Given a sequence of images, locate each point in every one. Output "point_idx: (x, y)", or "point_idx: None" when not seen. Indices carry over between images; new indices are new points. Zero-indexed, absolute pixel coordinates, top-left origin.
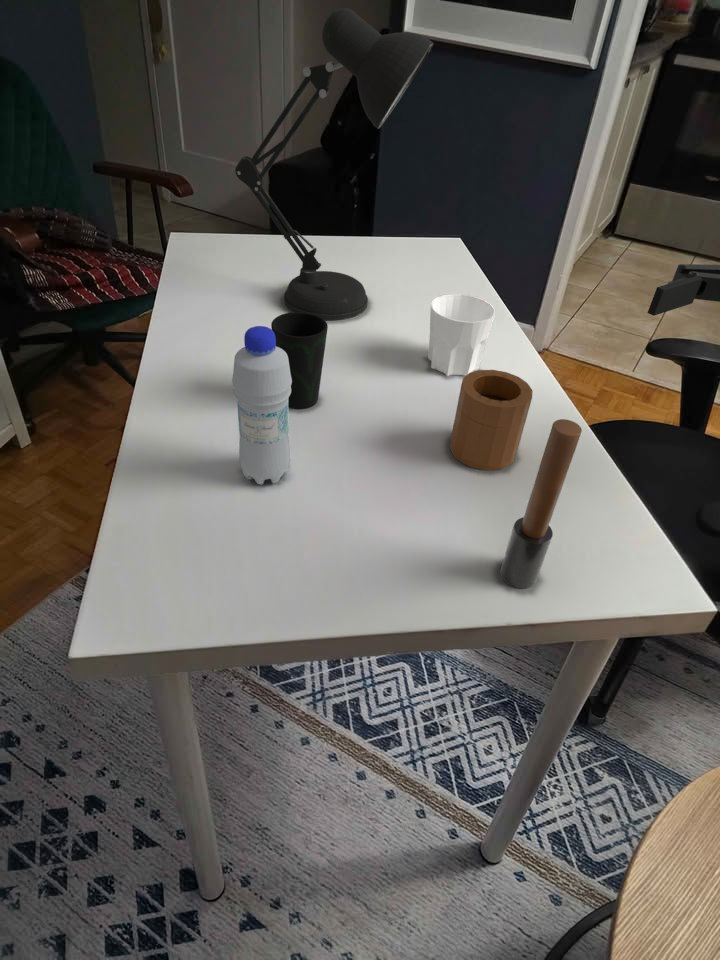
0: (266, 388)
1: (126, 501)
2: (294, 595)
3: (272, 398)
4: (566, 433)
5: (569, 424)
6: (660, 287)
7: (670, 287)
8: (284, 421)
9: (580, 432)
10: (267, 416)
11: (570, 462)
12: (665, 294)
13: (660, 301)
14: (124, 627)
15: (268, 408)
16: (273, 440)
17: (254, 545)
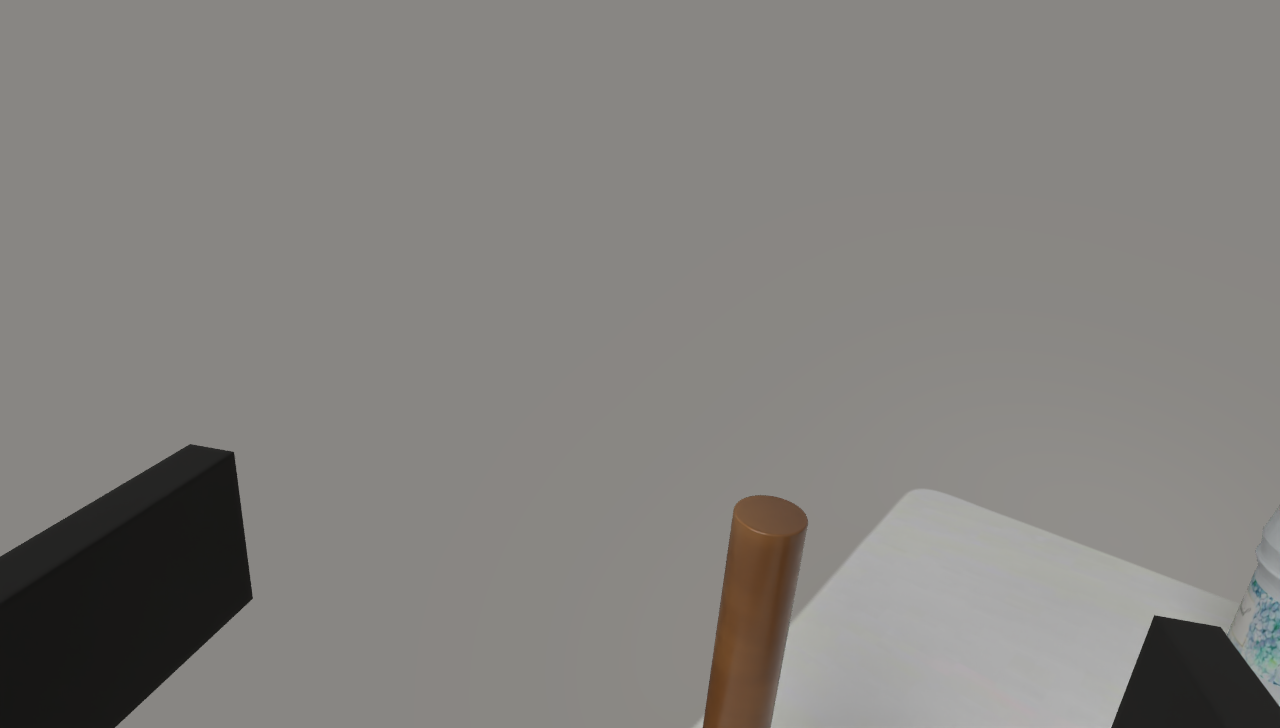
0: (1273, 520)
1: (1181, 589)
2: (891, 616)
3: (1265, 547)
4: (753, 497)
5: (775, 522)
6: (1214, 640)
7: (1206, 685)
8: (1269, 636)
9: (736, 514)
10: (1252, 584)
11: (723, 595)
12: (1162, 690)
13: (1131, 704)
14: (930, 508)
15: (1259, 568)
16: (1233, 643)
17: (1020, 638)
